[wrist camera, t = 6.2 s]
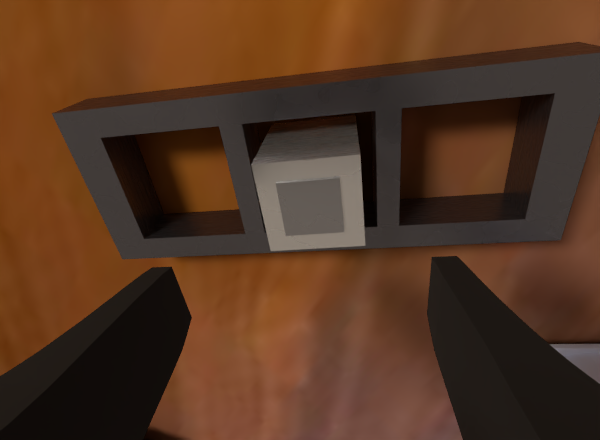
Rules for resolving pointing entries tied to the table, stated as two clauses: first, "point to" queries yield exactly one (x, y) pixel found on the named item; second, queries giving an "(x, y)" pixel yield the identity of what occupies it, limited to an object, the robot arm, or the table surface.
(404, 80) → the rack rail
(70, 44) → the table surface
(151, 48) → the table surface
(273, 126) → the block
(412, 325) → the table surface
